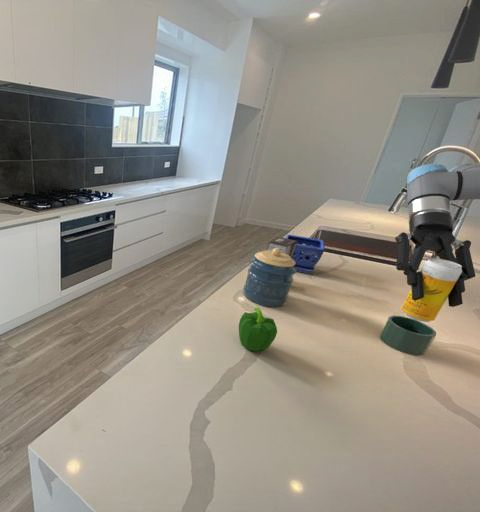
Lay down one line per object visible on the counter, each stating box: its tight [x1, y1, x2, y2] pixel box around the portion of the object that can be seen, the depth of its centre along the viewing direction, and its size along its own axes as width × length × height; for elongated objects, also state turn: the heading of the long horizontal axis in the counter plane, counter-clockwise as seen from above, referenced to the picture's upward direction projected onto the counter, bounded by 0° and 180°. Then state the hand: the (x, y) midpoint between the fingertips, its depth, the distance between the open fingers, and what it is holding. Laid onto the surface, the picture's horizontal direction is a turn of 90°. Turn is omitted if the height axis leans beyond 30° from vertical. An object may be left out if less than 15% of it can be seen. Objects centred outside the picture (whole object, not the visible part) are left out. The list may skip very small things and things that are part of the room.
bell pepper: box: [238, 306, 278, 352], centre depth 74 cm, size 8×8×10 cm
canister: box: [242, 248, 297, 308], centre depth 96 cm, size 13×13×18 cm
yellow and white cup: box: [400, 257, 462, 323], centre depth 73 cm, size 6×6×15 cm
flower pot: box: [285, 234, 326, 274], centre depth 121 cm, size 13×13×12 cm
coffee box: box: [266, 236, 297, 258], centre depth 108 cm, size 9×6×16 cm
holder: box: [379, 315, 437, 356], centre depth 78 cm, size 9×9×6 cm
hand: (436, 301), depth 70 cm, fingers closed on yellow and white cup, 6 cm apart
